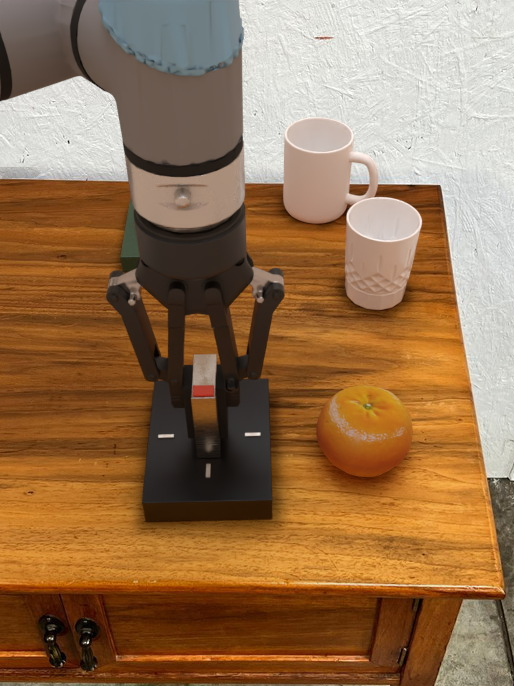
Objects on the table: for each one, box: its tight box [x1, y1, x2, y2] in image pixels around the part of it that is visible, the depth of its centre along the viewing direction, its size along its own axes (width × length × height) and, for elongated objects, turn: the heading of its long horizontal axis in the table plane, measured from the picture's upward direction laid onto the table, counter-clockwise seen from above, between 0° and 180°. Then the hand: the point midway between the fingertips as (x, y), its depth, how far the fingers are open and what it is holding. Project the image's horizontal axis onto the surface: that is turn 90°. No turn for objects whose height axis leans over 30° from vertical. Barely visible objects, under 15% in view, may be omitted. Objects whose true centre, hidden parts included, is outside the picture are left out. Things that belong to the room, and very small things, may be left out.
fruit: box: [315, 384, 414, 478], centre depth 70 cm, size 8×9×8 cm
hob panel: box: [141, 378, 274, 523], centre depth 71 cm, size 14×11×3 cm
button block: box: [119, 196, 140, 273], centre depth 93 cm, size 12×10×4 cm
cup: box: [282, 116, 379, 225], centre depth 96 cm, size 8×12×10 cm
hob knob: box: [191, 353, 220, 458], centre depth 67 cm, size 5×2×8 cm, turn 2°
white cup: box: [344, 196, 423, 311], centre depth 85 cm, size 8×8×10 cm
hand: (208, 425), depth 69 cm, fingers closed on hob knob, 2 cm apart
